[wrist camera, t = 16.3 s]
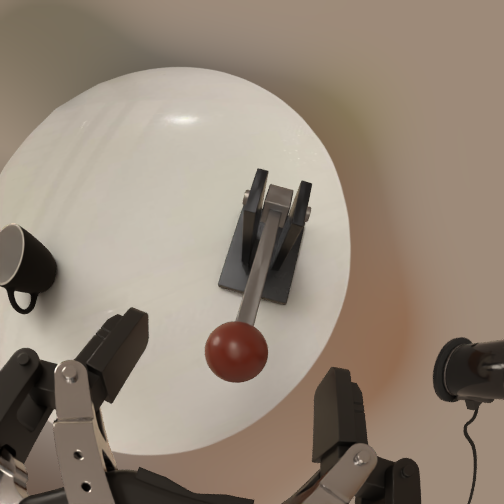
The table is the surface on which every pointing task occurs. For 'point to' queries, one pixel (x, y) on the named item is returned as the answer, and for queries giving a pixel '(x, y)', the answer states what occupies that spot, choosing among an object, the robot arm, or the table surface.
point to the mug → (24, 265)
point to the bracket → (249, 238)
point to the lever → (249, 304)
